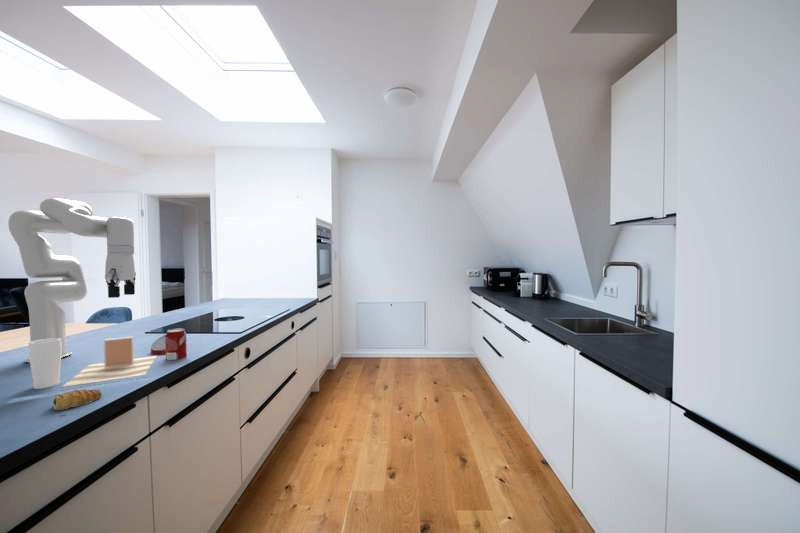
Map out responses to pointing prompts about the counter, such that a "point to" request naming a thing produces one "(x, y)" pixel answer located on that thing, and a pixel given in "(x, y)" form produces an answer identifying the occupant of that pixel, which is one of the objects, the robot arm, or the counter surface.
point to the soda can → (175, 344)
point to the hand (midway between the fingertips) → (122, 295)
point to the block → (118, 351)
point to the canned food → (158, 346)
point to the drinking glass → (45, 362)
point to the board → (111, 372)
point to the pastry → (75, 398)
